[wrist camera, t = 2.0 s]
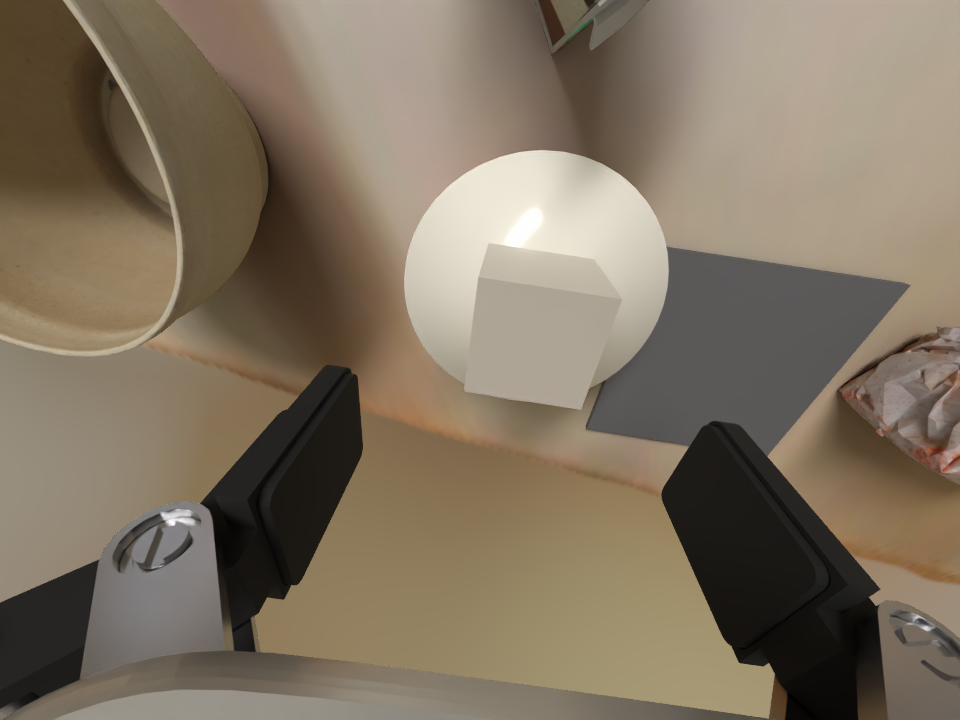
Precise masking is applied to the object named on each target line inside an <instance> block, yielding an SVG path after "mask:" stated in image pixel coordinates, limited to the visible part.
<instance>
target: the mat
mask: <svg viewBox="0 0 960 720" xmlns="http://www.w3.org/2000/svg"><path fill="white" fill-rule="evenodd" d="M666 248H667V252H668V266H669V275H668V287H667V292H666V297H665V301H664V305H663V308H662V311H661V313H660V316H659V319H658V321H657V323H656V325H655V327H654V329H653V331H652V332H651V334H650V336H649V337H648V339H647V340H646V342H645V343H644V345H643V346H642V347H641V349H640V350H639V351H638V352H637V353H636V354H635V355H634V357H633V358H632V359H631V360H630V361H629V362H628V363H627V364H625V365H624V366H623V367H622V368H621V369H620V370H619V371H617V372H616V373H615V374H613V375H612V376H610V377H609V378H608V379H606V380H604V381H603V384H602V386H601V389H600V391H599V394H598V396H597V399H596V402H595V404H594V407H593V409H592V412H591V414H590V417H589V419H588V422H587V424H586V429H588V430H594V431H601V432H607V433H613V434H620V435H626V436H632V437H638V438H645V439H651V440H657V441H664V442H670V443H676V444H682V445H689V446H690V445H691V443H692V442H693V440H694V439H695V437H696V435H697V434H698V432H699V431H700V429H701V428H702V427H703V426H705V425H708V423H710V422H712V421H721V422H728V423H734V424H738V425H740V426H741V427H742V428H743V429H744V430H745V431H746V432H747V434H748V435H749V436H750V437H751V438H752V439H753V441H754V442H755V443H756V444H757V445H758V447H759V448H760V449H761V450H762V451H763V452H764V454H765V455H766V456H768V455H769V453H770V452H771V451H772V450H773V449H774V447H775V446H776V445H777V444H778V443H779V441H780V440H781V439H782V438H783V437H784V435H785V434H786V433H787V432H788V431H789V430H790V428H791V427H792V426H793V425H794V424H795V422H796V421H797V420H798V419H799V418H800V416H801V415H802V414H803V413H804V412H805V410H806V409H807V408H808V407H809V406H810V404H811V403H812V402H813V401H814V400H815V399H816V397H817V396H818V395H819V394H820V393H821V391H822V390H823V389H824V388H825V387H826V385H827V384H828V383H829V382H830V381H831V379H832V378H833V377H834V376H835V375H836V373H837V372H838V371H839V370H840V369H841V368H842V366H843V365H844V364H845V363H846V362H847V360H848V359H849V358H850V357H851V356H852V354H853V353H854V352H855V351H856V350H857V348H858V347H859V346H860V345H861V344H862V342H863V341H864V340H865V339H866V338H867V337H868V335H869V334H870V333H871V332H872V331H873V329H874V328H875V327H876V326H877V325H878V323H879V322H880V321H881V320H882V319H883V317H884V316H885V315H886V314H887V313H888V311H889V310H890V309H891V308H892V307H893V306H894V304H895V303H896V302H897V301H898V300H899V298H900V297H901V296H902V295H903V294H904V292H905V291H906V290H907V289H908V288H909V286H910V285H908V284H905V283H900V282H894V281H887V280H881V279H874V278H867V277H861V276H854V275H848V274H841V273H835V272H828V271H821V270H815V269H808V268H802V267H795V266H788V265H782V264H775V263H769V262H762V261H756V260H749V259H742V258H736V257H729V256H723V255H716V254H710V253H703V252H696V251H690V250H683V249H677V248H670V247H666Z"/></svg>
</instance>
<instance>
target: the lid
mask: <svg viewBox="0 0 960 720" xmlns="http://www.w3.org/2000/svg"><path fill="white" fill-rule="evenodd" d="M668 275H669V266H668V252H667V248H666V243H665V239H664V235H663V232H662V230H661V227H660V225H659V222H658V220H657V218H656V216H655V214H654V212H653V211H652V209H651V207H650V206H649V204H648V202H647V201H646V200H645V199H644V198H643V196H642V195H641V194H640V193H639V192H638V190H637V189H636V188H635V187H634V186H633V185H632V184H630V183H629V182H628V181H627V180H626V179H625V178H623V177H622V176H621V175H620V174H618V173H617V172H615V171H613V170H612V169H610V168H608V167H607V166H605V165H603V164H601V163H599V162H596V161H594V160H591V159H589V158H586V157H584V156H580V155H576V154H571V153H567V152H561V151H547V150H536V151H524V152H518V153H513V154H509V155H505V156H501V157H498V158H496V159H493V160H491V161H488V162H486V163H483V164H481V165H479V166H477V167H476V168H474V169H472V170H470V171H469V172H467V173H465V174H463V175H462V176H461V177H460V178H458V179H457V180H456V181H455V182H453V183H452V184H451V185H449V186H448V187H447V188H446V189H445V190H444V191H443V192H442V193H441V194H440V195H439V196H438V197H437V199H436V200H435V201H434V202H433V203H432V205H431V206H430V207H429V209H428V210H427V212H426V213H425V214H424V216H423V218H422V219H421V221H420V223H419V225H418V227H417V229H416V231H415V233H414V236H413V239H412V241H411V244H410V247H409V250H408V255H407V260H406V264H405V277H404V287H405V299H406V304H407V309H408V313H409V316H410V319H411V322H412V325H413V328H414V330H415V332H416V334H417V336H418V338H419V340H420V341H421V343H422V345H423V346H424V348H425V349H426V351H427V352H428V353H429V354H430V356H431V357H432V358H433V359H434V360H435V362H436V363H437V364H438V365H439V366H440V367H442V368H443V369H444V370H445V371H446V372H447V373H448V374H450V375H451V376H452V377H454V378H455V379H456V380H458V381H460V382H461V383H463V384H465V386H464V391H465V392H471V393H477V394H484V395H490V396H493V397H497V398H502V399H506V400H513V401H528V402H534V403H541V404H547V405H553V406H559V407H566V408H572V409H578V410H581V409H582V406H583V403H584V401H585V398H586V395H587V393H588V390H589V388H592V387H594V386H595V385H597V384H599V383H601V382H603V381H604V380H606V379H608V378H609V377H610V376H612V375H613V374H615V373H616V372H617V371H619V370H620V369H621V368H622V367H623V366H624V365H625V364H627V363H628V362H629V361H630V360H631V359H632V358H633V357H634V355H635V354H636V353H637V352H638V351H639V350H640V349H641V347H642V346H643V345H644V343H645V342H646V340H647V339H648V337H649V336H650V334H651V332H652V331H653V329H654V327H655V325H656V323H657V321H658V319H659V316H660V313H661V311H662V308H663V305H664V301H665V297H666V292H667V287H668Z"/></svg>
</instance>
